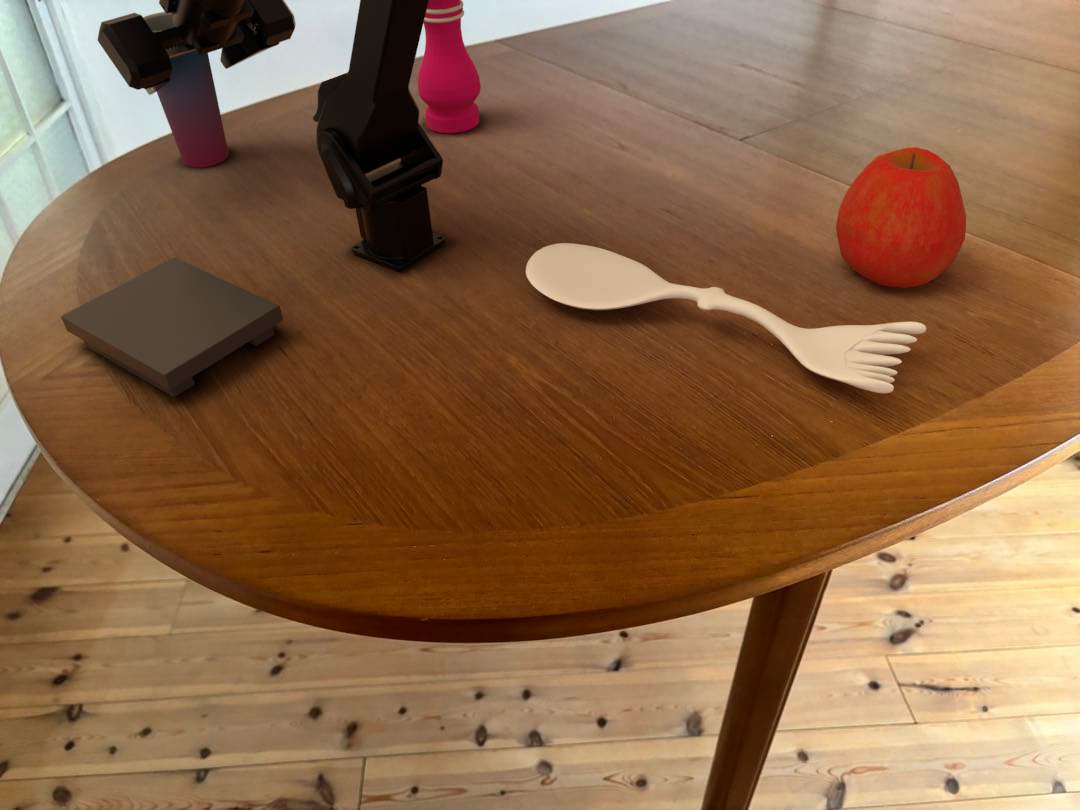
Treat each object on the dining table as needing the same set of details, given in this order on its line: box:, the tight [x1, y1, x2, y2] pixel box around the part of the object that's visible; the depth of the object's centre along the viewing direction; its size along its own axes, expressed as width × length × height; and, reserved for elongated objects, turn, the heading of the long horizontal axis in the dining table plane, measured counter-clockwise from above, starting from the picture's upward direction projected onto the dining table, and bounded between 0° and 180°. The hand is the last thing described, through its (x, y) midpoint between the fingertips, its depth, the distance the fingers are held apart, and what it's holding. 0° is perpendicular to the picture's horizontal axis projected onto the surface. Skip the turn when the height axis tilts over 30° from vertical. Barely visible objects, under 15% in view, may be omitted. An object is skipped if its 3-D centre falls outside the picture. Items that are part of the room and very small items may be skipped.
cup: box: [142, 11, 230, 168], centre depth 99 cm, size 7×7×15 cm
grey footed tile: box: [60, 257, 284, 398], centre depth 75 cm, size 14×11×3 cm
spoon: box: [525, 242, 927, 394], centre depth 73 cm, size 9×32×4 cm, turn 57°
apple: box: [835, 146, 967, 289], centre depth 76 cm, size 10×10×10 cm
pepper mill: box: [417, 0, 482, 134], centre depth 102 cm, size 7×7×20 cm
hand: (187, 77), depth 97 cm, fingers open, 9 cm apart
